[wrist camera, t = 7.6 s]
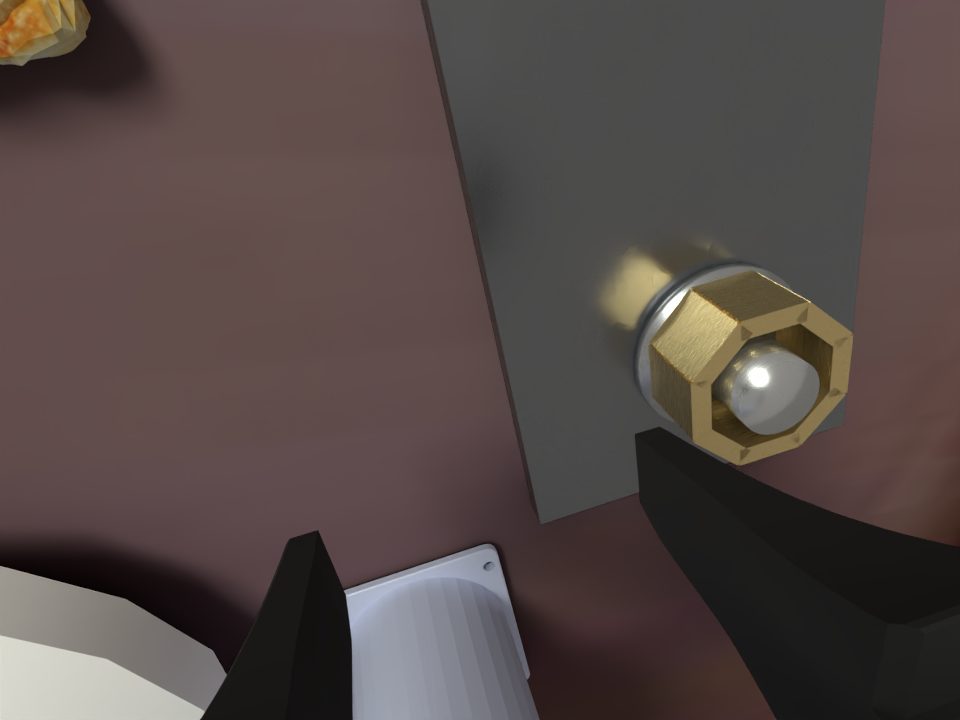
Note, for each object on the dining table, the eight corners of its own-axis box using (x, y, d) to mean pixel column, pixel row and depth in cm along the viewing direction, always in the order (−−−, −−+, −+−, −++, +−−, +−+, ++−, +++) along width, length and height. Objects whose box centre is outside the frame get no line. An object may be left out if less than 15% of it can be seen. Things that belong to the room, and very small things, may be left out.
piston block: (824, 410, 29) (918, 480, 25) (532, 505, 28) (574, 599, 23) (867, -132, 19) (1038, -180, 15) (414, -26, 18) (449, -42, 13)
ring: (789, 391, 26) (842, 432, 23) (654, 433, 25) (694, 480, 22) (796, 256, 23) (858, 286, 20) (645, 300, 22) (689, 337, 20)
